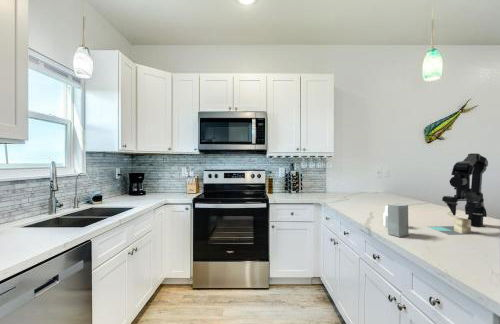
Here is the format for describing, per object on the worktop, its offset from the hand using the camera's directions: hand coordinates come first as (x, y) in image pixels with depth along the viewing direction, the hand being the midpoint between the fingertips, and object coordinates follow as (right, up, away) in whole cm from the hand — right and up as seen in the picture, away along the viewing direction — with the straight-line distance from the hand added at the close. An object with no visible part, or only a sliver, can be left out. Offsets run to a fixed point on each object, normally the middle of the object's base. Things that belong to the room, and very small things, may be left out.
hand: (462, 215), depth 143 cm
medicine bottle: (-32, -9, +12) cm, 35 cm away
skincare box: (-37, -10, -4) cm, 38 cm away
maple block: (0, -9, 0) cm, 9 cm away
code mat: (-2, -9, +4) cm, 10 cm away
